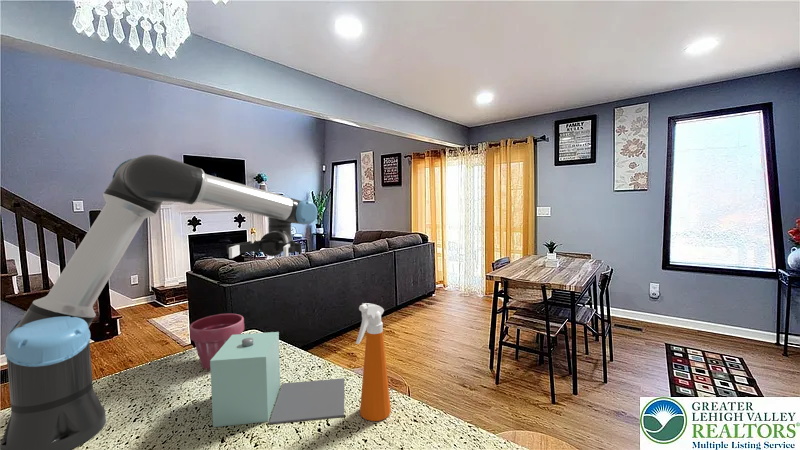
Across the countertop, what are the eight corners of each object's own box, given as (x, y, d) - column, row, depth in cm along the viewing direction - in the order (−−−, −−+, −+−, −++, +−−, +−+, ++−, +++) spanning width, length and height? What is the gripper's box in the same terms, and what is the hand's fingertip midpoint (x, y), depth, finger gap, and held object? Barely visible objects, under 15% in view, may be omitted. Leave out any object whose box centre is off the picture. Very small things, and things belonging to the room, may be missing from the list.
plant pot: (179, 372, 96) (177, 328, 95) (214, 351, 110) (212, 312, 109) (224, 376, 94) (223, 331, 93) (254, 354, 107) (253, 314, 107)
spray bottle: (344, 426, 73) (342, 305, 71) (370, 399, 82) (369, 292, 81) (372, 436, 70) (371, 310, 68) (396, 407, 79) (395, 296, 78)
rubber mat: (269, 424, 74) (268, 422, 74) (282, 384, 89) (282, 383, 89) (344, 416, 76) (344, 414, 76) (344, 379, 92) (344, 378, 92)
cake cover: (212, 427, 73) (209, 355, 72) (234, 390, 87) (231, 330, 86) (268, 421, 74) (265, 351, 73) (280, 386, 88) (278, 327, 87)
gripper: (314, 253, 113) (307, 265, 92) (233, 255, 109) (207, 268, 88) (313, 231, 112) (306, 237, 91) (233, 232, 108) (206, 239, 88)
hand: (257, 252), depth 90 cm, fingers open, 13 cm apart
